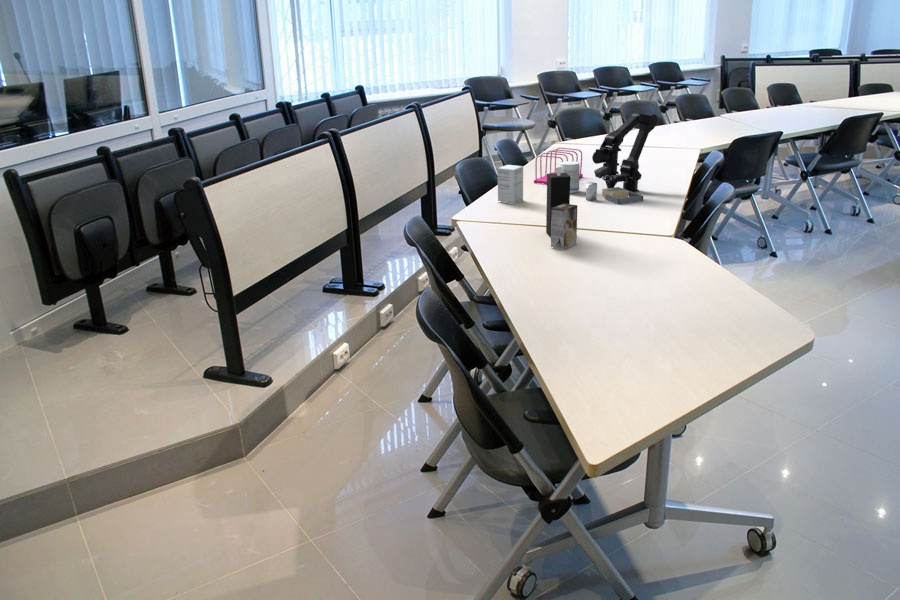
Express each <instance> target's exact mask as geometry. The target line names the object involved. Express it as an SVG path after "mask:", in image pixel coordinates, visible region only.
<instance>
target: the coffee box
mask: <svg viewBox="0 0 900 600" xmlns="http://www.w3.org/2000/svg"><path fill="white" fill-rule="evenodd" d="M577 232H578V205H577V204H572V203H570V204H565V203H564V204H561V205H558V206H555V207H553V208H551V237H550V248H551V247H553V248H552V249H555V248H558V249H557V250H560V249H562V250H561V251H566V250H568V249H570V248H573V247H574V246H576V245H577V242H578V241H577V239H578V238H577V235H578V234H577ZM569 247H570V248H569ZM567 248H568V249H567ZM565 249H566V250H565Z"/></svg>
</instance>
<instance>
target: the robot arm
mask: <svg viewBox="0 0 900 600" xmlns="http://www.w3.org/2000/svg"><path fill="white" fill-rule="evenodd" d="M658 119H659V118H658V115H656V114H655V113H640V112H632V114H631V115H630V117H628V118H627V119H626V120H625V121H624V122H623V123H622V124H621V125H620V126H619V127H618V128H617V129H616V130H614V131H610V132H609V133H608V134H606V135H605V137H604V139H603V141H602V142H601V145H600V147H599V148H596V149H595V151H594V152H593V154H592V162H593V163H594V164H595V165H598V164H602V166H600V167H598V168H597V169H595V170H594V171H593V172H594V176H595V178H598V179H602V180H603V181H604V182H605V185H606V188H615V186H616V185H617V183H621V182H622V188H623V189H625V190H628V191H631V192H634V193H637V192H640V189H638V187H639V186H638V185H639V180H641V179H642V176H643V175H642V174H641V173H640V171H639V168H640V165H639V159H640V157H641V154H642V152H643V150H644V149H643V148H644V147H645V144H646V142H647V139H648V137H649V134H650V133H651V132H652V131H653V130H654V129H655V128H656V125H657V123H658V121H659V120H658ZM637 125H638V132H637V135H636V138H635V140H634V143H633V145H632V148H631V151H630V152H629V155H628V157H627V158H626V159H625V158H624V159H623V160H622V161H621V165H620V163H619V162H618V160H619V159H618V157H619V152H621V151H622V148H620V146H621V145H622V143H623V142H624V138H625V137H626V136H627V135H628V134H629V133H630V132H631V131H632V130H633V128H635V127H636V126H637ZM618 167H620V168H619V171H618ZM619 173H620V174H619Z"/></svg>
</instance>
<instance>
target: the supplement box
mask: <svg viewBox="0 0 900 600" xmlns="http://www.w3.org/2000/svg"><path fill="white" fill-rule="evenodd" d="M498 201H501V202H507V203H506V204H508V203H511V204H510V205H515V204H517V202H518V203H520V202H522V201H524V166H523V165H514V164H513V165H512V164H506V165H503V166H500V167H498V168H497V202H498ZM519 201H520V202H519ZM501 202H500V203H501Z"/></svg>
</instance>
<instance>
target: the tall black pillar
mask: <svg viewBox="0 0 900 600" xmlns="http://www.w3.org/2000/svg"><path fill="white" fill-rule="evenodd" d="M555 170H556V172H557V173H552V172H551V173H550V172H549V173H546V175H547V184H546V218H545V219H546V221H545V222H546V223H545V225H546V226H545V228H546V229H545V232H546V234H547V236H548V237H549V238H551V208H553V207H555V206H558V205H561V204H564V203H565V204H571V201H570V200H571V193H570V181H571V177H570V176H569V175H568V174H567V173H561V171H562V167H561V166H559V167H558V166H557V167H556V168H555V167H554V171H555Z"/></svg>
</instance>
